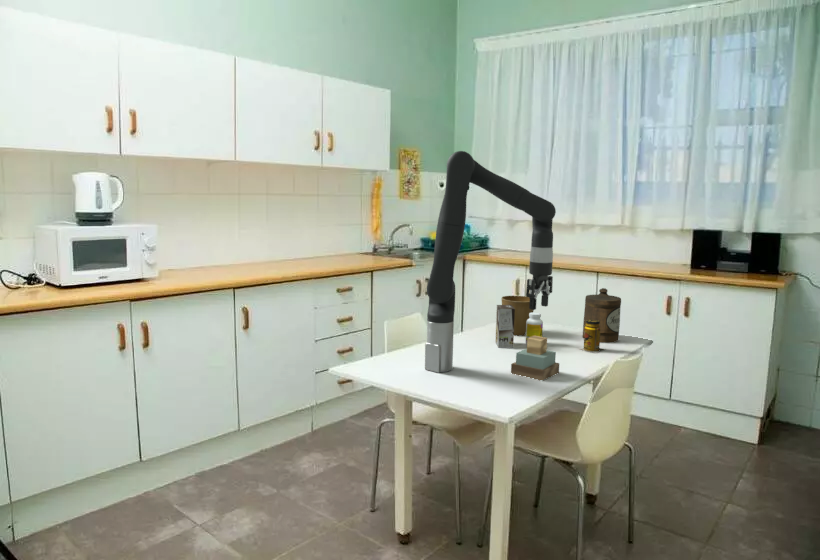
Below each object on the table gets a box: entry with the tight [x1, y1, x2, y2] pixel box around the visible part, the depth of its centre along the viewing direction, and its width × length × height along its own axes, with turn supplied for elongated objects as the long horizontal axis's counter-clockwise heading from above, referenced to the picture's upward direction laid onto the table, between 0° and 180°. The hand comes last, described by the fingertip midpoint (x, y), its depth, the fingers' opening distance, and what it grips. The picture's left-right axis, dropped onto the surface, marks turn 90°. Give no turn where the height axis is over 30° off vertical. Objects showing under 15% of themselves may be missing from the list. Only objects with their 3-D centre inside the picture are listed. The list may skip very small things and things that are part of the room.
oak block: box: [526, 336, 548, 355], centre depth 204 cm, size 5×5×5 cm
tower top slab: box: [515, 347, 557, 370], centre depth 205 cm, size 10×10×4 cm
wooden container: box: [582, 287, 622, 344], centre depth 255 cm, size 15×15×22 cm
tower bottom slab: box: [510, 361, 560, 381], centre depth 206 cm, size 12×12×4 cm
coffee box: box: [495, 304, 515, 349], centre depth 242 cm, size 9×6×16 cm
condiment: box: [579, 320, 606, 354], centre depth 237 cm, size 7×8×12 cm
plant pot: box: [500, 295, 534, 337], centre depth 262 cm, size 15×15×16 cm
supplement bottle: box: [525, 311, 544, 345], centre depth 245 cm, size 7×7×13 cm
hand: (538, 307), depth 202 cm, fingers open, 8 cm apart
